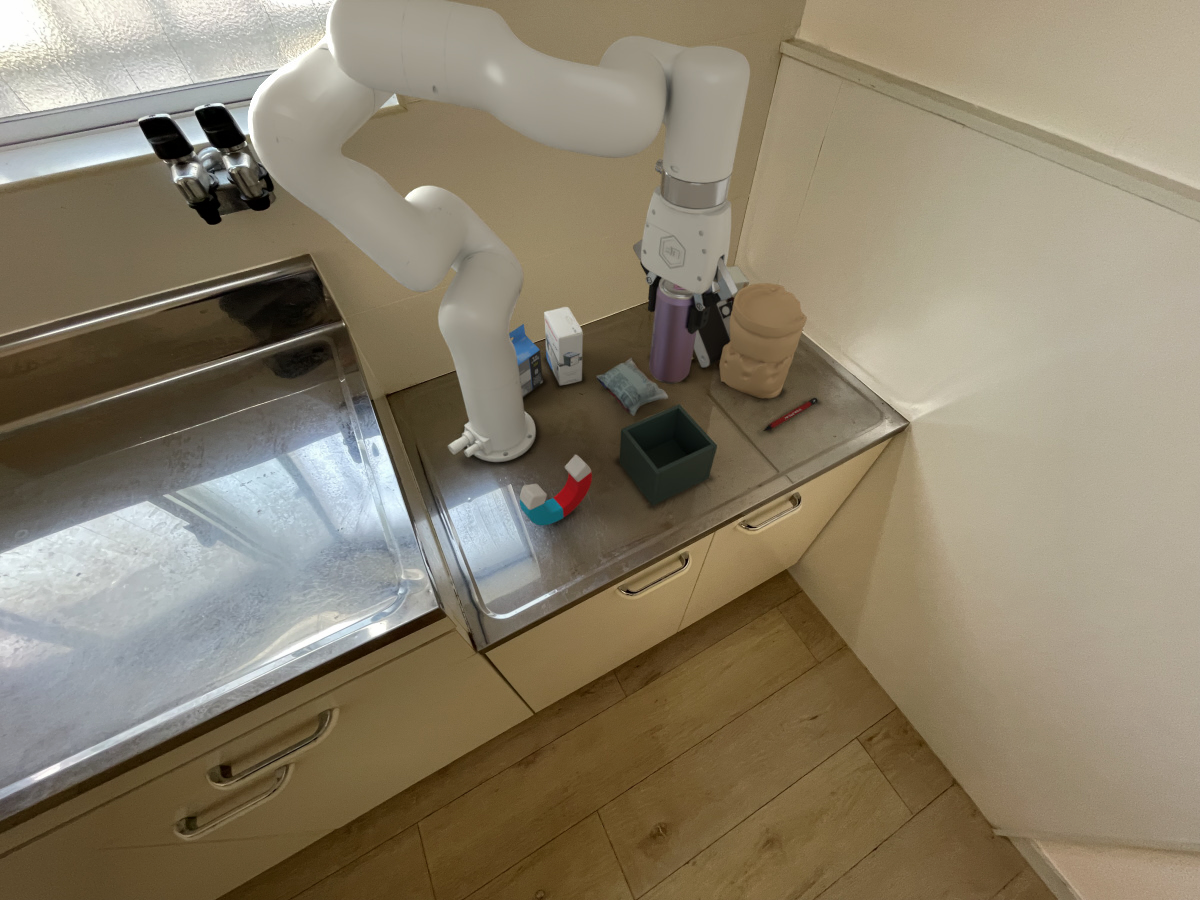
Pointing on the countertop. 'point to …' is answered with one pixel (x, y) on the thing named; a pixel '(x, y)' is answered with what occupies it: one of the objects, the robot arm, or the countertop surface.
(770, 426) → the pencil
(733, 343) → the container
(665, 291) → the beverage can
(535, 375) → the blue cardboard box
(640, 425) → the waste bin
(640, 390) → the packaged food
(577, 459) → the magnet
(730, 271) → the cosmetic box
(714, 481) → the countertop surface
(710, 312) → the camera
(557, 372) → the ink box
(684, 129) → the robot arm
